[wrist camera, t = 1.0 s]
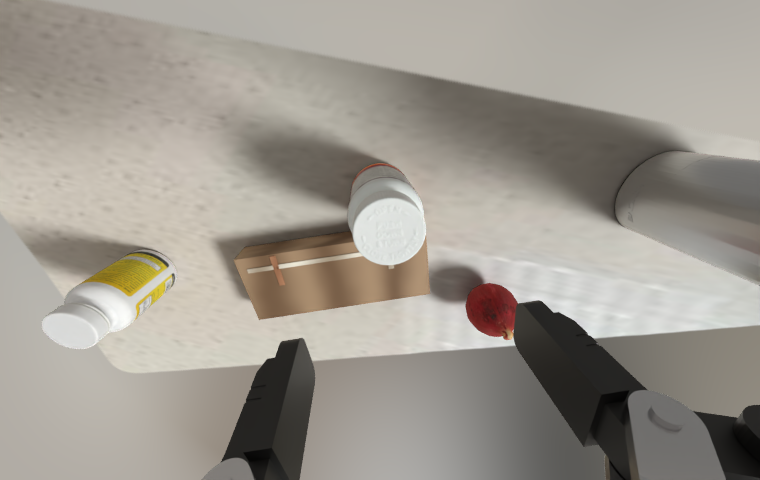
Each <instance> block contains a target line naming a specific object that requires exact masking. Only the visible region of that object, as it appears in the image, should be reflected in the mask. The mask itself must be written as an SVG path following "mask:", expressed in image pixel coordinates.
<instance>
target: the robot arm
mask: <svg viewBox="0 0 760 480" xmlns="http://www.w3.org/2000/svg"><path fill="white" fill-rule="evenodd" d="M615 213H616V217H617V219H618V221H619V222H620V223H621V225H623V226H624V227H626V228H627V229H630V230H632V231H634V232H637V233H639V234H641V235H644V236H646V237H648V238H651V239H653V240H655V241H658V242H659V243H662V244H664V245H666V246H669V247H671V248H673V249H676V250H678V251H680V252H683V253H685V254H687V255H690V256H692V257H694V258H697V259H699V260H701V261H704V262H706V263H708V264H711V265H713V266H715V267H718V268H720V269H722V270H724V271H727V272H729V273H731V274H734V275H736V276H738V277H741V278H743V279H745V280H748V281H750V282H752V283H755V284H757V285H759V286H760V161H757V160H749V159H740V158H732V157H725V156H717V155H708V154H699V153H690V152H681V151H670V152H665V153H662V154H659V155H656V156H654V157H652V158H650V159H648V160H647V161H645V162H644V163H642V164H641V165H640V166H638V167H637V168H636V169H635V170H634V171H633V172H632V173H631V174H630V175H629V177H628V178H627V179H626V180H625V182H624V183H623V185H622V187H621V189H620V190H619V193H618V196H617V198H616V204H615ZM513 336H514V342H515V345H516V347H517V349H518V351H519V353H520V354H521V355H522V357H523V358H524V360H525V361H526V363H527V364H528V366H529V367H530V369H531V370H532V371H533V373H534V375H535V376H536V377H537V379H538V380H539V382H540V383H541V385H542V386H543V388H544V389H545V391H546V392H547V394H548V395H549V396H550V398H551V399H552V401H553V402H554V404H555V405H556V407H557V408H558V410H559V411H560V413H561V414H562V416H563V417H564V419H565V420H566V421H567V423H568V424H569V426H570V427H571V428H572V430H573V432H574V433H575V435H576V436H577V438H578V439H579V441H580V442H581V443H582V445H583V447H586V446H592V445H598V444H599V446H600V447H601V448H602V450H603V451H604V453H605V458H604V465H605V479H606V480H760V405H752V406H748V407H746V408H745V409H744V410H743V412H742V413H741V414H740V416H739V417H738V418H736V417H729V416H722V415H715V414H707V413H701V412H695V411H692V410H690V409H689V408H688V407H686V406H685V405H684V404H682V403H680V402H679V401H677V400H675V399H673V398H671V397H669V396H667V395H664V394H661V393H658V392H655V391H649V390H647V389H646V388H645V387H643V386H642V385H641V384H640V383H639V382H638V381H637V380H636V379H635V378H634V377H633V376H632V375H631V374H630V373H629V372H628V371H627V370H625V369H624V367H622V366H621V365H620V364H619V363H618V362H617V361H616V360H615V359H614V358H613V357H612V356H611V355H610V354H609V353H608V352H607V351H606V350H605V349H603V347H601V346H599V345H598V343H597V342H596V341H595V340H594V339H593V338H592V337H591V336H588V334H587V332H586V331H585V330H584V329H583V328H581V327H580V326H579V325H578V324H577V323H576V322H575V321H574V320H572V319H570V318H568V317H566V316H565V315H563V314H561V313H559V312H557V313H553V312H552V311H551V310H550V309H549V308H548V307H547V306H546V305H545V304H544V303H543V302H542V301H539V300H538V301H532V302H525V303H519V304H517V306H516V313H515V322H514V332H513ZM314 385H315V371H314V366H313V363H312V360H311V357H310V354H309V352H308V349H307V346H306V343H305V341H304V339H303V338H299V339H293V340H287V341H282V342H281V343H280V345H279V348H278V351H277V354H276V357H275V358H270V359H267V360H266V361H265V363H264V364H263V365H262V366H261V368H260V369H259V370H258V372H257V373H256V376H255V378H254V381H253V383H252V386H251V390H250V391H249V394H248V396H247V399H246V403H245V404H244V407H243V409H242V412H241V414H240V417H239V419H238V422H237V425H236V427H235V430H234V432H233V435H232V437H231V440H230V442H229V445H228V447H227V450H226V453H225V455H224V457H223V459H222V461H221V463H219V464H218V465H217V466H215V467H214V468H213V469H212V470H210V471H209V472H208V473H207V474H206V475H205V476H204V478H203V479H202V480H299V479H300V473H301V466H302V460H303V453H304V447H305V441H306V435H307V429H308V423H309V416H310V409H311V404H312V397H313V391H314Z"/></svg>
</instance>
